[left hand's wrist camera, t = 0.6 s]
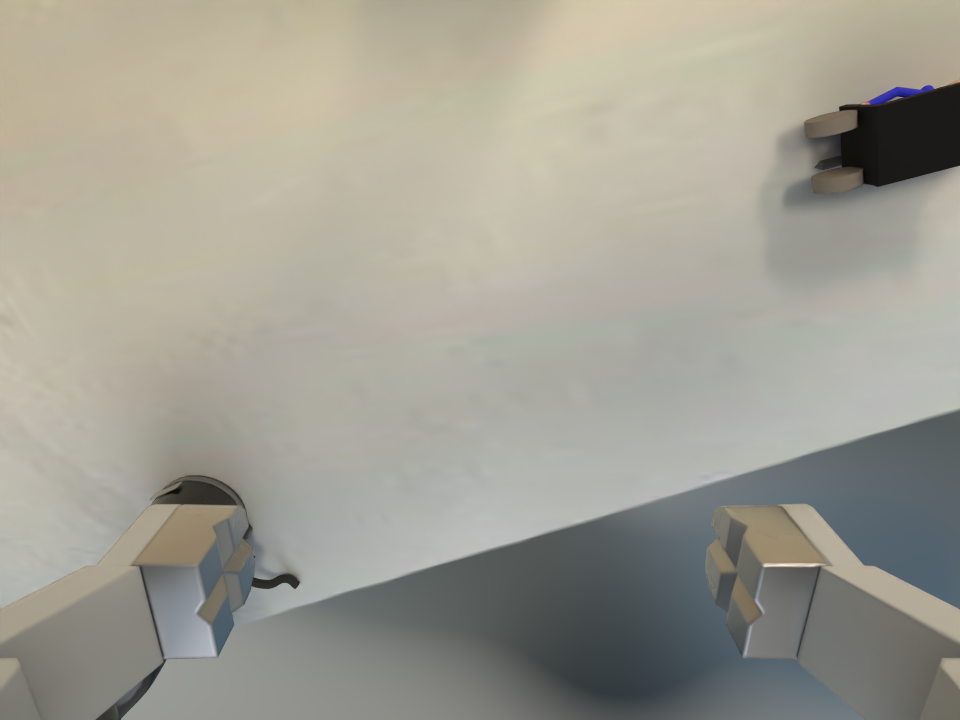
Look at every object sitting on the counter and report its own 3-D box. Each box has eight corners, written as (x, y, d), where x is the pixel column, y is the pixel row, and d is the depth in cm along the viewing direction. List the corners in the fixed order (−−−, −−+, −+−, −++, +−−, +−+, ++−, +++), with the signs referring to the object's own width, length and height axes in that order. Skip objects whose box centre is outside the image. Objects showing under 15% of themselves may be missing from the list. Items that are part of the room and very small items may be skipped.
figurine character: (791, 194, 54) (979, 143, 51) (827, 206, 47) (1047, 148, 44) (783, 117, 52) (979, 59, 49) (819, 118, 45) (1050, 50, 42)
